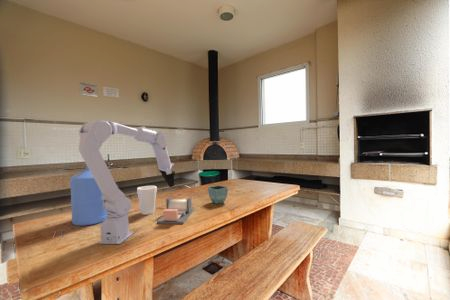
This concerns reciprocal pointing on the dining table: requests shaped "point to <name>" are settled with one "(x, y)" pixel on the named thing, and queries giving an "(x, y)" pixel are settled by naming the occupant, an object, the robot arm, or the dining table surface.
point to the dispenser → (182, 207)
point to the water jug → (86, 200)
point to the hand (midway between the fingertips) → (170, 183)
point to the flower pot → (217, 194)
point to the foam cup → (147, 199)
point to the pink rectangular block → (171, 215)
